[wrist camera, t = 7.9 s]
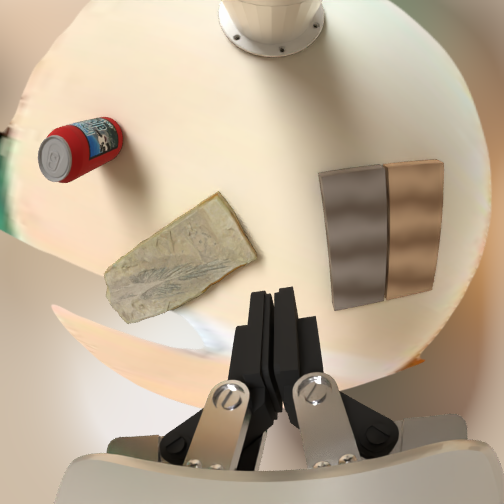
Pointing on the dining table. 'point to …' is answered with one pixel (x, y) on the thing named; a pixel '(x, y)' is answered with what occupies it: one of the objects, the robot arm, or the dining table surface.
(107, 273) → the stone slab
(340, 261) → the smoked oak plank
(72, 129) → the beverage can
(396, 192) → the walnut board
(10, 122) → the dining table surface
